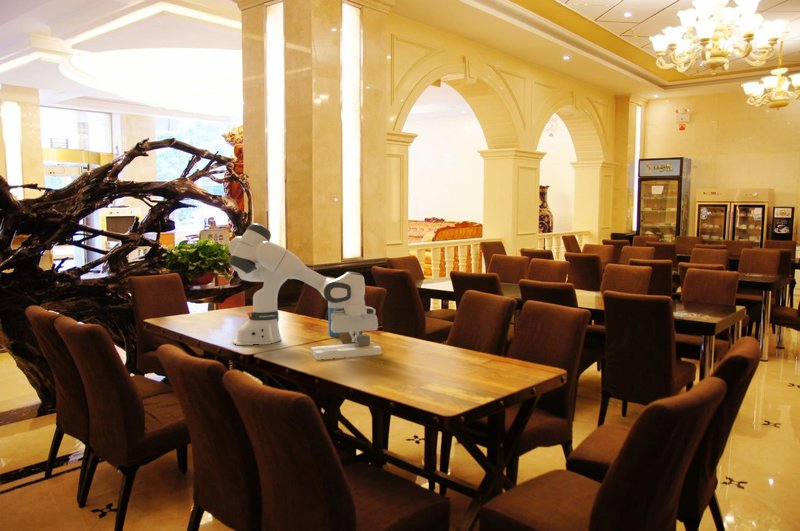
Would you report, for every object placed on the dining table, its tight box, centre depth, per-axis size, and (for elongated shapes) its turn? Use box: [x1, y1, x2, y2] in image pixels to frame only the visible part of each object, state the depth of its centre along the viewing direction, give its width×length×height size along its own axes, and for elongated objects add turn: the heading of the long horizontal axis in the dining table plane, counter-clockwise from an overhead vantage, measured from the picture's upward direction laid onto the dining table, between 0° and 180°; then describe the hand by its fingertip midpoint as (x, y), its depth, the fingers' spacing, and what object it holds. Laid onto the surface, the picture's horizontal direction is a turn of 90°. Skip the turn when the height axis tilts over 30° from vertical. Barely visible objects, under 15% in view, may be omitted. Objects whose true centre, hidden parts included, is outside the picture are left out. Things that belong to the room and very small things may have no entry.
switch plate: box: [310, 341, 382, 361], centre depth 266 cm, size 28×12×3 cm, turn 110°
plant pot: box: [334, 308, 364, 344], centre depth 284 cm, size 15×15×16 cm
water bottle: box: [327, 301, 344, 338], centre depth 305 cm, size 9×9×25 cm
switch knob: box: [355, 333, 371, 347], centre depth 268 cm, size 5×5×6 cm
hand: (354, 341), depth 266 cm, fingers closed
